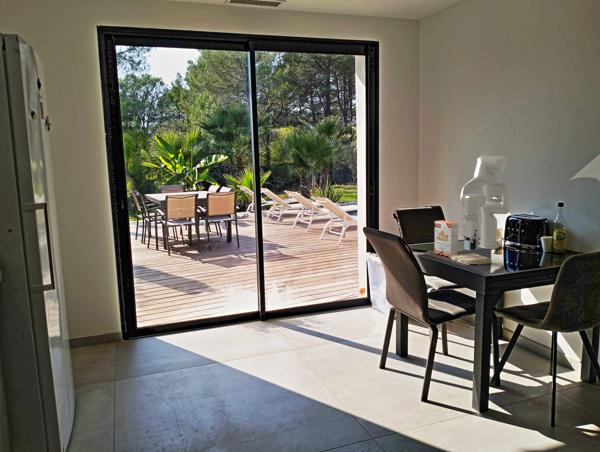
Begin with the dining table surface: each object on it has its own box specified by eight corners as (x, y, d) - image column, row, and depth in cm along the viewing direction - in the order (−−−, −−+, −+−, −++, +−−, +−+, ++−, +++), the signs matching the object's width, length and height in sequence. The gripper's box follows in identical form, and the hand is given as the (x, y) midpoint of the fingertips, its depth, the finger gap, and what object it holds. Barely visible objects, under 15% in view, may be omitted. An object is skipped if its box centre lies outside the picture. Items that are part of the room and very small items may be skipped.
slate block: (463, 248, 278) (464, 240, 277) (471, 248, 279) (471, 239, 278) (468, 250, 273) (469, 241, 272) (476, 249, 274) (477, 241, 274)
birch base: (450, 259, 283) (450, 255, 283) (474, 257, 287) (474, 253, 286) (465, 265, 268) (465, 261, 267) (490, 263, 272) (491, 258, 271)
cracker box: (433, 254, 298) (434, 220, 295) (441, 253, 301) (441, 219, 298) (450, 258, 286) (451, 223, 283) (457, 257, 289) (458, 222, 285)
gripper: (457, 215, 281) (456, 246, 283) (474, 219, 264) (473, 251, 267) (468, 215, 282) (467, 245, 285) (486, 218, 266) (485, 251, 269)
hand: (470, 248), depth 276 cm, fingers closed on slate block, 5 cm apart
